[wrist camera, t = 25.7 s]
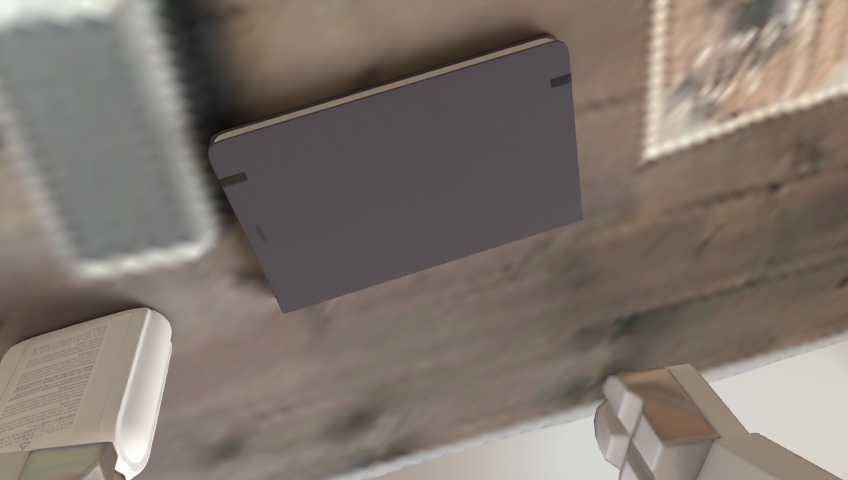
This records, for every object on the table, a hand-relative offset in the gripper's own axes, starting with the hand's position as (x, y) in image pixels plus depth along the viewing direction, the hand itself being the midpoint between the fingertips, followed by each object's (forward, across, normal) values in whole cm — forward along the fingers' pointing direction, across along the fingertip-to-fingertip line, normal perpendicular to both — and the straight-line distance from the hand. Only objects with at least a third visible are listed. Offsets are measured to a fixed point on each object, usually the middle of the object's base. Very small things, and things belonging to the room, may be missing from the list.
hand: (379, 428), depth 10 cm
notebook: (+27, -6, +9) cm, 29 cm away
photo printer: (+27, +15, +20) cm, 37 cm away
